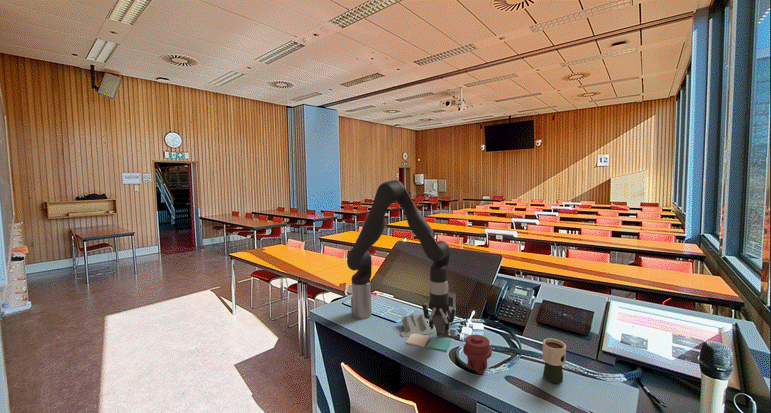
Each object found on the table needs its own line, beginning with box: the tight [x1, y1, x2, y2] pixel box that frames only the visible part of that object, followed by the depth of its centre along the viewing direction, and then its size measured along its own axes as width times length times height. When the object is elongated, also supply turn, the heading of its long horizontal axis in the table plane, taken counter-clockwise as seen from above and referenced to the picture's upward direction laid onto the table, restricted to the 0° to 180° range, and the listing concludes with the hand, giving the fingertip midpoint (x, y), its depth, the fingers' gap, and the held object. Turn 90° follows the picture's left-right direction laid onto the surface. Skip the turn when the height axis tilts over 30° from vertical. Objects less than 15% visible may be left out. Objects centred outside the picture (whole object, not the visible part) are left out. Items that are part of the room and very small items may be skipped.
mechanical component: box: [462, 334, 493, 375], centre depth 122 cm, size 12×10×10 cm
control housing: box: [441, 291, 457, 338], centre depth 148 cm, size 7×5×18 cm
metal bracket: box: [400, 313, 436, 338], centre depth 154 cm, size 14×6×15 cm
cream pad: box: [405, 334, 430, 348], centre depth 144 cm, size 8×8×1 cm
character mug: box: [541, 338, 567, 384], centre depth 116 cm, size 11×7×13 cm, turn 149°
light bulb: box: [432, 314, 445, 338], centre depth 139 cm, size 6×6×10 cm
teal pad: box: [427, 336, 452, 352], centre depth 140 cm, size 8×8×1 cm
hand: (439, 329), depth 139 cm, fingers closed on light bulb, 5 cm apart
